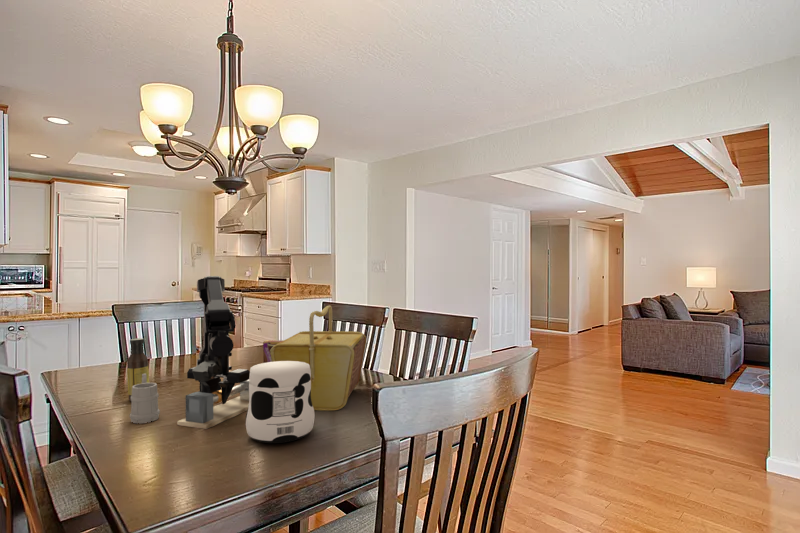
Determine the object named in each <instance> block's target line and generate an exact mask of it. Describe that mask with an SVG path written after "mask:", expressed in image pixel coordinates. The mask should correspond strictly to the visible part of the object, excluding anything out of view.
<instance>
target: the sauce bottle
mask: <svg viewBox="0 0 800 533" xmlns="http://www.w3.org/2000/svg"><path fill="white" fill-rule="evenodd" d="M144 343H145V338H143V337H141V338H140V337H139V338H131V339H130V340H129V345H130V355H129V357H128V358H127V361H126V366H127V367H126V372H127V373H126V375H127V378H126V379H127V395H128V401H130V402H132V401H131V396H132V386H134V385H137V384H141V383H142V374H146V375H147V376H146V378H147V383H150V370H149V359H148V357H147V355H146V354H145V352H144V351H145V349H144Z"/></svg>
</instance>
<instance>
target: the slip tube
mask: <svg viewBox="0 0 800 533" xmlns="http://www.w3.org/2000/svg"><path fill="white" fill-rule="evenodd" d="M248 389H249V382H245V383H242V384H240V383H239V384H237V385H234V387H233V388H232V390H231V393H230V395H229V397H228V398H230V397H232V396H235V395H237V394H240V392H243V391H245V390H248ZM212 394H213V404H215V405H216V404H217V405H218V404H219V403H222V391H221V390H218V391H216V392H213V393H212Z"/></svg>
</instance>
